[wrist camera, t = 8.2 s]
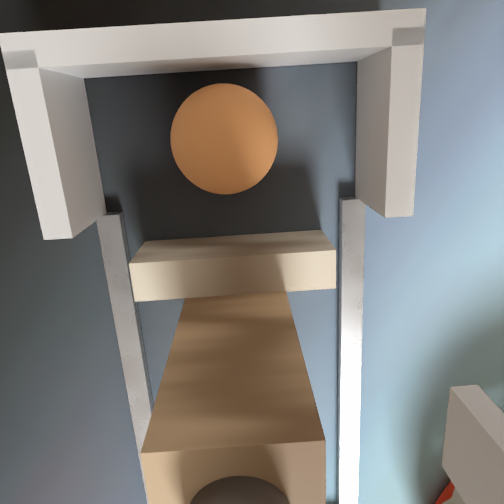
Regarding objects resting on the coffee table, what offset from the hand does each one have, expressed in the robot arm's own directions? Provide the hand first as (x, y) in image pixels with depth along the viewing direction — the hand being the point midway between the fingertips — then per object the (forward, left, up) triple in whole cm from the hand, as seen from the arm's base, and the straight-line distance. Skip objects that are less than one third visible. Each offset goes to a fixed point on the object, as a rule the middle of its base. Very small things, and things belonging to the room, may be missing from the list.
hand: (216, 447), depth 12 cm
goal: (+1, +8, -9) cm, 12 cm away
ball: (+1, +8, -7) cm, 10 cm away
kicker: (+1, 0, -9) cm, 9 cm away
